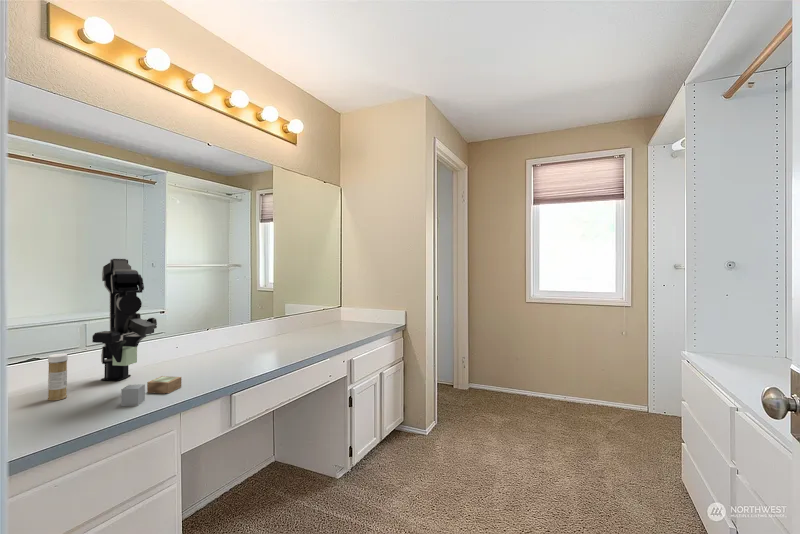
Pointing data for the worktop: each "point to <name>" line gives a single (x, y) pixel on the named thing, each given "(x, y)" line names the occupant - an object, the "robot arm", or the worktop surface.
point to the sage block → (127, 356)
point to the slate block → (133, 395)
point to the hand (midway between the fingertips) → (125, 360)
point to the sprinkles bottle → (57, 376)
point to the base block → (163, 384)
